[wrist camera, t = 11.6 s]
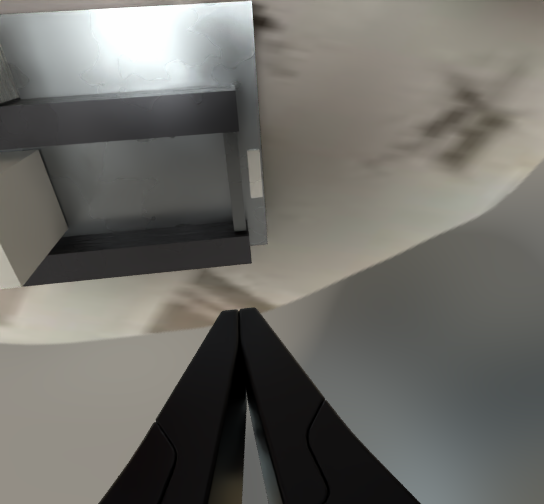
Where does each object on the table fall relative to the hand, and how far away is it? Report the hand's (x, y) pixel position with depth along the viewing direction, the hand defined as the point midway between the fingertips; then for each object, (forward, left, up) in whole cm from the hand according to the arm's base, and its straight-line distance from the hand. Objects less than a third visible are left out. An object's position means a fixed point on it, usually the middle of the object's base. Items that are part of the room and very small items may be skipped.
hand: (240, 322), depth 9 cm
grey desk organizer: (+7, -2, -12) cm, 14 cm away
